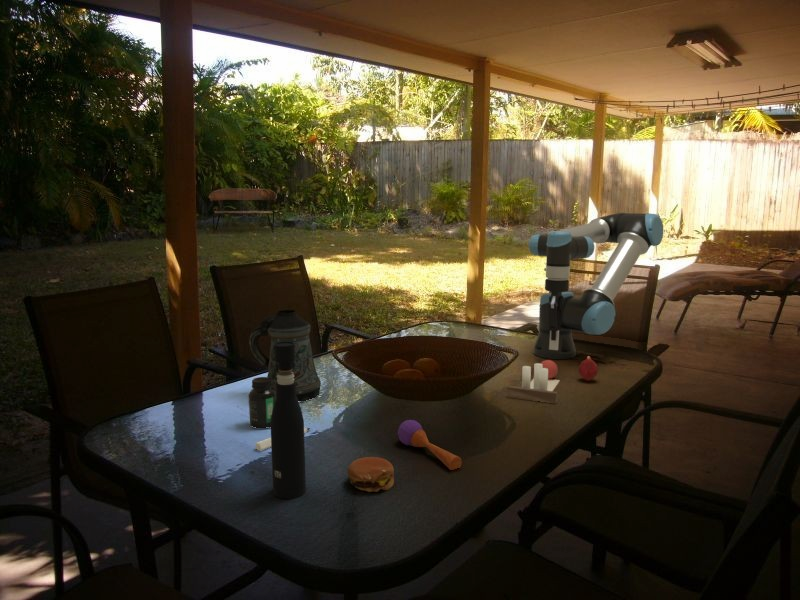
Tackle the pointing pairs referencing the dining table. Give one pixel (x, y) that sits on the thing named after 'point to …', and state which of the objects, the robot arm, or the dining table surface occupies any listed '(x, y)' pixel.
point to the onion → (588, 369)
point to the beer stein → (297, 331)
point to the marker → (269, 442)
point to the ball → (550, 368)
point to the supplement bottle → (261, 402)
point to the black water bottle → (287, 429)
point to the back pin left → (543, 379)
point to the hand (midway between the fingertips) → (553, 349)
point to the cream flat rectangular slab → (551, 384)
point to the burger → (371, 474)
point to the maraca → (425, 443)
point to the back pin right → (526, 376)
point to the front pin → (537, 374)
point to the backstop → (532, 394)
